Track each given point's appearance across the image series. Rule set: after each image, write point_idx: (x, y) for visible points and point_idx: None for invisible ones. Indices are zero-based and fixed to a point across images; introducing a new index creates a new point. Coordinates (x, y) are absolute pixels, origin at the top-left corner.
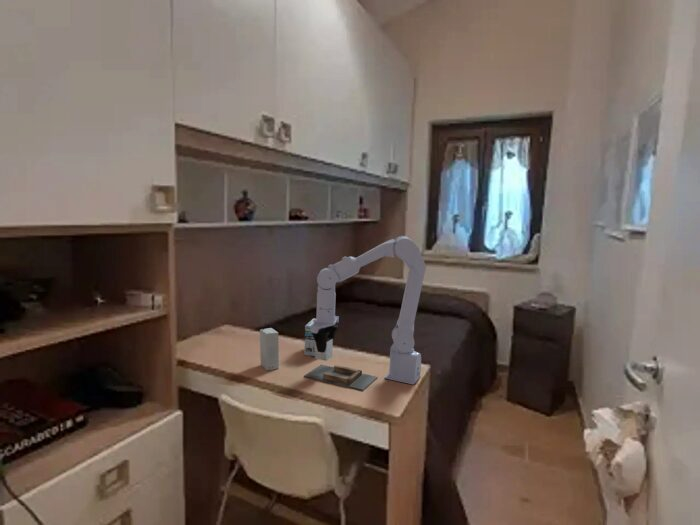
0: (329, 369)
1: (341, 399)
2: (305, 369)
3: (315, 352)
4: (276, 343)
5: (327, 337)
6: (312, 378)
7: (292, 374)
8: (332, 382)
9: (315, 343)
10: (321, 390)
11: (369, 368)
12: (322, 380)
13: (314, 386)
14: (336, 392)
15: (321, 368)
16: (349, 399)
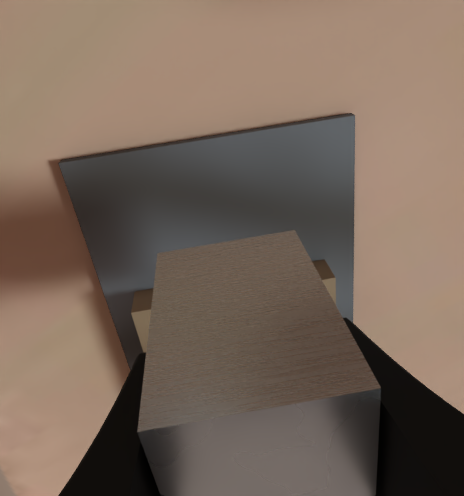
0: (297, 230)
1: (18, 473)
2: (198, 55)
3: (154, 296)
4: None
5: (386, 463)
6: (86, 234)
7: (20, 37)
8: (128, 362)
9: (143, 384)
10: (7, 368)
11: (459, 366)
12: (108, 305)
13: (10, 312)
14: (58, 424)
15: (280, 173)
16: (50, 489)
